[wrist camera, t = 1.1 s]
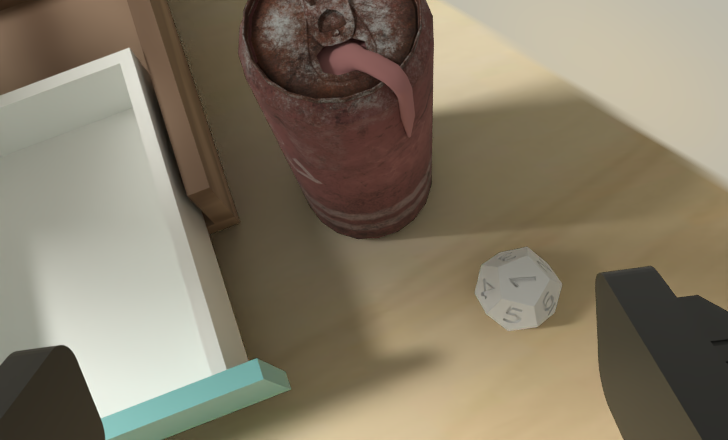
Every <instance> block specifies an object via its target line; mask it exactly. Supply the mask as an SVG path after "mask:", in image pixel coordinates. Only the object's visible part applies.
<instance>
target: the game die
mask: <svg viewBox="0 0 728 440" xmlns="http://www.w3.org/2000/svg"><path fill="white" fill-rule="evenodd" d="M561 288H562V283H561V281H560V280H559V278H558V277H557V276H556V274H555V273H554V271H553V270H552V269H551V267H550V266H549V264H548V263H547V262H545V261H544V260H543V259H542V258H540V257H539V256H538V255H537V254H536V253H534V252H533V251H532V250H531V249H530V248H528V247H523V248H518V249H514V250H509V251H504V252H500V253H498V254H496V255H495V256H493V257H492V258H491V259H489V260H488V261H486V262H485V263H483V264H482V265H481V268H480V272H479V276H478V280H477V285H476V289H475V295H476V297H477V299H478V300H479V302H480V304H481V306H482V308H483V309H484V311H485V313H486V315H488V316H489V317H490V318H492V319H493V320H494V321H496V322H497V323H498V324H500V325H501V326H502V327H503V328H505V329H506V330H507V331H513V330H520V329H527V328H534V327H538V326H539V325H541V324H542V323H543V322H544V321H545V320H547V319H548V318H549V317H550V316H551V315H553V314H554V313H555V310H556V306H557V303H558V299H559V295H560V292H561Z"/></svg>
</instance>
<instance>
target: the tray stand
mask: <svg viewBox="0 0 728 440" xmlns="http://www.w3.org/2000/svg"><path fill="white" fill-rule="evenodd" d="M127 48H130V49H131V50H132V52H133V53H134V54H135V56H136V57H137V58H138V59H139V61H140V62H141V63H142V65H143V66H144V67H145V69H146V70H147V71H148V73H149V74H150V77H151V80H152V83H153V87H154V90H155V93H156V96H157V100H158V103H159V106H160V109H161V113H162V116H163V119H164V122H165V126H166V129H167V132H168V135H169V139H170V142H171V145H172V148H173V151H174V155H175V158H176V161H177V164H178V168H179V171H180V174H181V177H182V181H183V184H184V187H185V190H186V194H187V196H188V197H189V198H190V199H191V200H192V201H193V202H194V203H195V204H196V205H197V206H198V207H199V208H200V209H201V211H202V214H203V217H204V221H205V224H206V227H207V230H208V233H209V234H212V233H215V232H217V231H220V230H223V229H225V228H228V227H230V226H233V225H236V224H238V223H240V220H239V217H238V214H237V211H236V208H235V205H234V202H233V199H232V196H231V193H230V190H229V187H228V184H227V181H226V178H225V175H224V172H223V169H222V166H221V163H220V160H219V157H218V154H217V151H216V148H215V145H214V142H213V139H212V136H211V133H210V130H209V127H208V124H207V121H206V118H205V115H204V112H203V109H202V106H201V103H200V100H199V97H198V94H197V91H196V87H195V84H194V81H193V78H192V75H191V72H190V69H189V66H188V63H187V60H186V57H185V54H184V51H183V48H182V45H181V42H180V39H179V36H178V33H177V30H176V27H175V24H174V21H173V18H172V15H171V12H170V9H169V6H168V3H167V0H0V95H3V94H6V93H8V92H11V91H14V90H16V89H19V88H22V87H25V86H27V85H30V84H33V83H35V82H38V81H41V80H43V79H46V78H49V77H51V76H54V75H57V74H59V73H62V72H65V71H68V70H70V69H73V68H76V67H78V66H81V65H84V64H86V63H89V62H92V61H94V60H97V59H100V58H103V57H105V56H108V55H111V54H113V53H116V52H119V51H121V50H124V49H127Z"/></svg>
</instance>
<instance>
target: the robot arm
mask: <svg viewBox="0 0 728 440" xmlns="http://www.w3.org/2000/svg"><path fill="white" fill-rule="evenodd" d="M595 292H596V315H597V338H598V361H599V371H600V377H601V382H602V387H603V391H604V395H605V398H606V401H607V404H608V406H609V408H610V411H611V413H612V415H613V417H614V419H615V422H616V424H617V426H618V428H619V430H620V433H621V435H622V437H623V439H624V440H728V311H726V310H724V309H722V308H720V307H719V306H717V305H715V304H713V303H711V302H710V301H708V300H706V299H704V298H702V297H700V296H699V295H694V296H686V297H678V298H677V297H676V296H675V294H674V293H673V292H672V290H671V289H670V288H669V286H668V285H667V284H666V282H665V281H664V280H663V278H662V277H661V276H660V274H659V273H658V272H657V270H656V269H655V268H654V267H652V266H646V267H639V268H632V269H624V270H617V271H610V272H602V273H598V274H597V277H596V283H595ZM0 440H105V432H104V427H103V423H102V420H101V418H100V415H99V413H98V410H97V408H96V405H95V403H94V401H93V398H92V396H91V393H90V391H89V388H88V386H87V383H86V381H85V378H84V376H83V373H82V371H81V368H80V366H79V363H78V361H77V359H76V357H75V355H74V353H73V351H72V350H71V349H70V348H69V347H67V346H65V345H57V346H49V347H42V348H35V349H27V350H20V351H15V352H13V353H11V354H10V355H9V356H8V357H7V358H6V359H5V360H4V361H3V363H2V364H1V365H0Z"/></svg>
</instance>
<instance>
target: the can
mask: <svg viewBox="0 0 728 440" xmlns="http://www.w3.org/2000/svg"><path fill="white" fill-rule="evenodd" d="M238 54H239V57H240V61H241V64H242V67H243V70H244V74H245V77H246V80H247V82H248V84H249V86H250V88H251V90H252V92H253V94H254V96H255V98H256V100H257V102H258V104H259V106H260V108H261V110H262V112H263V114H264V116H265V118H266V119H267V121H268V123H269V125H270V127H271V129H272V131H273V133H274V135H275V137H276V139H277V141H278V143H279V145H280V147H281V149H282V151H283V153H284V155H285V157H286V159H287V161H288V163H289V165H290V167H291V169H292V171H293V173H294V175H295V177H296V179H297V181H298V183H299V185H300V187H301V189H302V191H303V193H304V195H305V197H306V199H307V201H308V203H309V205H310V207H311V208H312V210H313V211H314V212H315V214H316V215H317V216H318V218H319V219H320V220H321V222H322V223H324V224H325V225H327V226H328V227H330V228H331V229H333V230H334V231H336V232H337V233H339V234H343V235H346V236H350V237H353V238H357V239H367V238H380V237H383V236H386V235H389V234H392V233H395V232H398V231H399V230H400V229H402V228H403V227H405V226H406V225H407V224H409V223H410V222H411V221H413V220H414V219H415V217H416V216H417V215H418V213H419V212H420V211H421V209H422V208H423V206H424V205H425V204H426V201H427V198H428V194H429V191H430V188H431V179H432V118H433V56H434V38H433V16H432V14H431V11H430V9H429V6H428V4H427V2H426V0H248V1H247V4H246V6H245V8H244V11H243V20H242V22H241V25H240V31H239V48H238Z"/></svg>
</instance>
